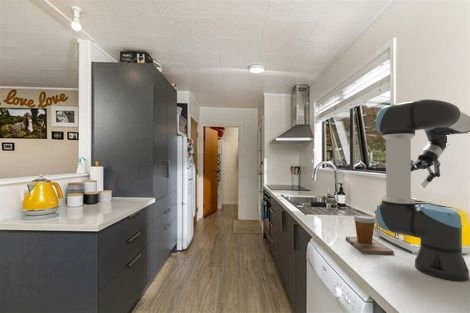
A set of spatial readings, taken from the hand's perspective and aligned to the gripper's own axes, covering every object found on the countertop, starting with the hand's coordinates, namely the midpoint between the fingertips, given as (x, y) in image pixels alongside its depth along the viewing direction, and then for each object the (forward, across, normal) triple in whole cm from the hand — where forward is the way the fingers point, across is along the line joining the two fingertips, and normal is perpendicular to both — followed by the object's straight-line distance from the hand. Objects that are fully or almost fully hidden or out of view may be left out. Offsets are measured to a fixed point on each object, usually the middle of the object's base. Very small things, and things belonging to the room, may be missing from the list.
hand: (408, 184), depth 119 cm
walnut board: (+37, +2, -4) cm, 37 cm away
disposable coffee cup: (+36, +5, -4) cm, 36 cm away
